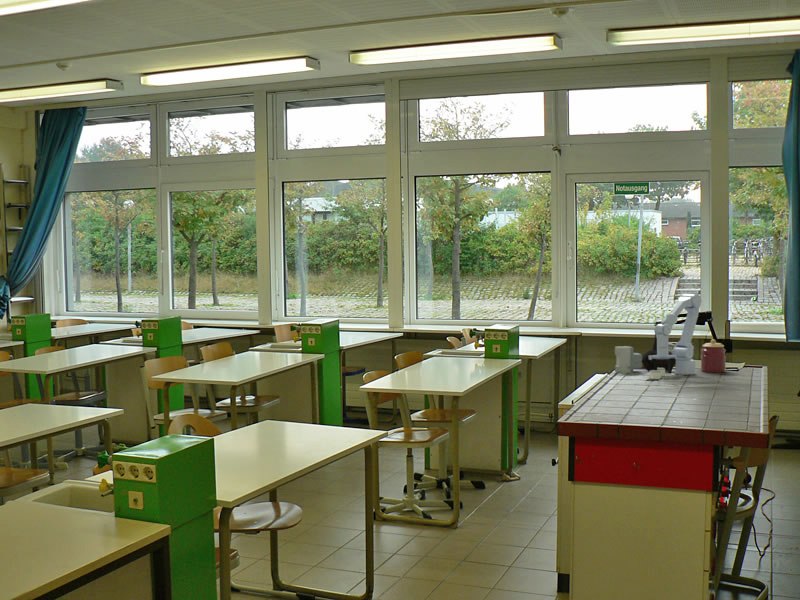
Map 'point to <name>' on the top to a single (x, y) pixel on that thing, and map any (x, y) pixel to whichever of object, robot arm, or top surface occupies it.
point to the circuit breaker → (627, 359)
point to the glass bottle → (661, 362)
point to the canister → (713, 357)
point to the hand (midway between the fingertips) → (662, 373)
